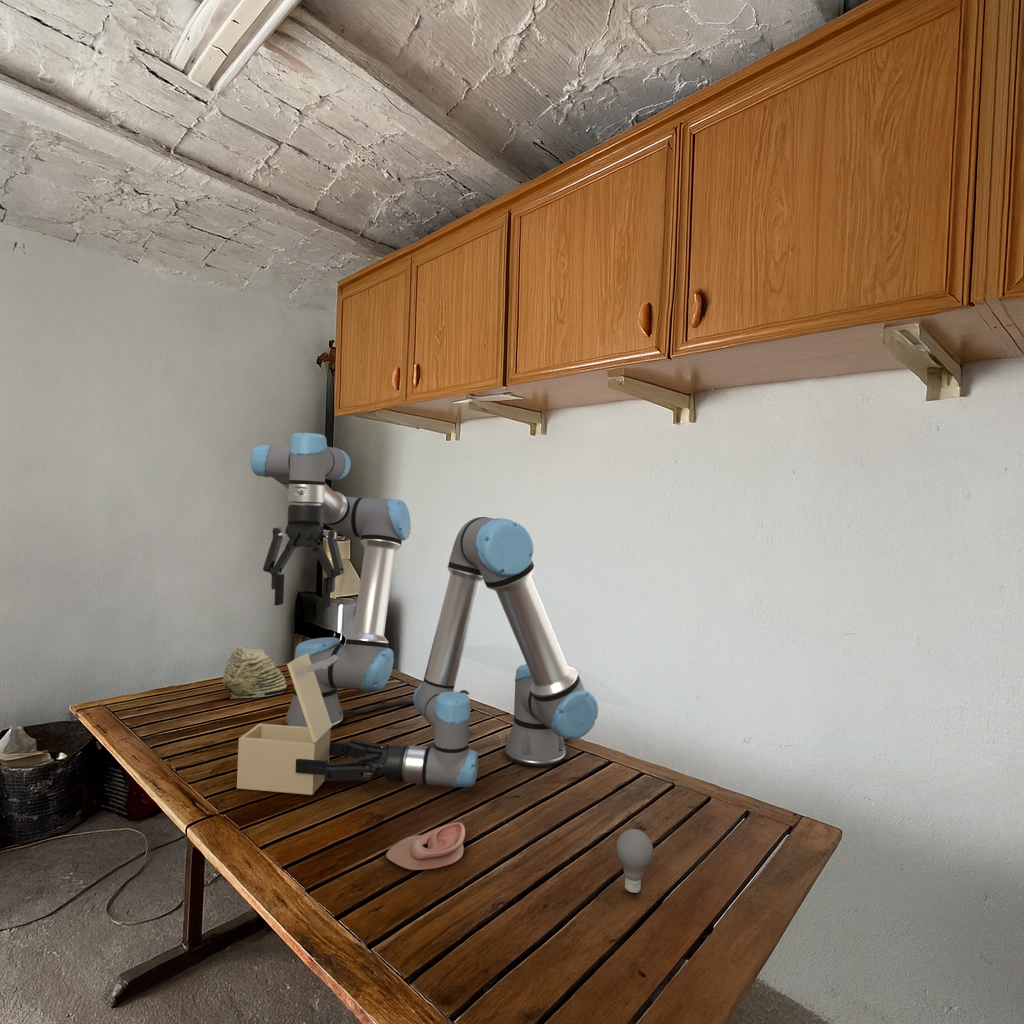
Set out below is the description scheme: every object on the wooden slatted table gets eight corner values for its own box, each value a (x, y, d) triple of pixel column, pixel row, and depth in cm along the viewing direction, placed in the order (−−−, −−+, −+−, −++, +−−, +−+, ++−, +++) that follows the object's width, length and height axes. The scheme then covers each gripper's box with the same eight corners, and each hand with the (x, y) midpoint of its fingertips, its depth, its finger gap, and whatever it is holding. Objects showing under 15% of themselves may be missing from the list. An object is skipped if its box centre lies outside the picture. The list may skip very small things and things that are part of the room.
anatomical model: (379, 842, 110) (403, 810, 121) (378, 864, 110) (403, 831, 121) (452, 854, 107) (471, 821, 118) (452, 877, 107) (470, 842, 118)
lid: (286, 664, 134) (320, 653, 134) (304, 653, 144) (336, 643, 143) (312, 742, 134) (346, 732, 134) (328, 727, 143) (360, 717, 143)
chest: (236, 788, 136) (238, 738, 136) (257, 770, 145) (259, 723, 145) (312, 795, 134) (314, 744, 134) (328, 776, 144) (330, 728, 143)
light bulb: (610, 879, 108) (613, 822, 108) (644, 879, 109) (647, 822, 109) (619, 902, 102) (622, 840, 102) (655, 901, 103) (658, 840, 103)
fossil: (218, 695, 195) (220, 647, 195) (278, 685, 208) (279, 640, 207) (228, 703, 189) (230, 653, 188) (289, 692, 201) (290, 645, 201)
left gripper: (248, 502, 135) (244, 605, 136) (350, 506, 134) (346, 611, 134) (264, 502, 143) (260, 600, 143) (362, 506, 141) (358, 606, 142)
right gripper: (391, 805, 127) (283, 796, 128) (417, 760, 148) (323, 753, 150) (393, 768, 126) (284, 759, 128) (418, 728, 148) (325, 722, 150)
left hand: (302, 605), depth 139 cm, fingers open, 10 cm apart
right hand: (305, 756), depth 139 cm, fingers closed on chest, 9 cm apart
